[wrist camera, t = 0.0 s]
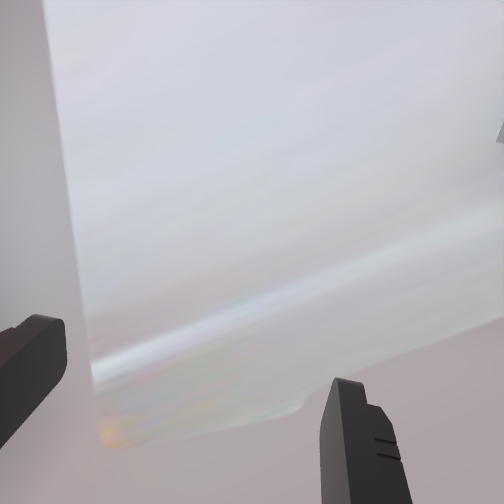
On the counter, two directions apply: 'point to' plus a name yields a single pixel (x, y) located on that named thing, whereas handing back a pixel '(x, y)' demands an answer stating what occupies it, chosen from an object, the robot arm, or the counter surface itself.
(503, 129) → the grey block
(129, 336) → the counter surface
